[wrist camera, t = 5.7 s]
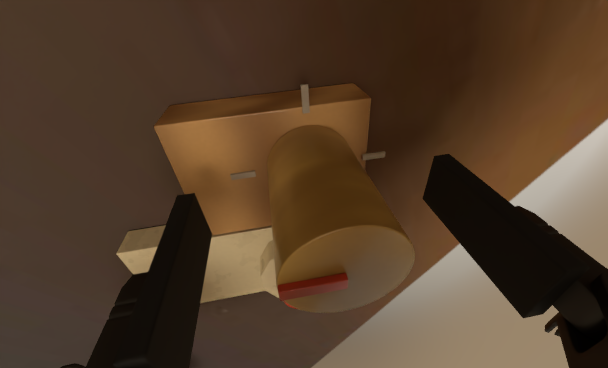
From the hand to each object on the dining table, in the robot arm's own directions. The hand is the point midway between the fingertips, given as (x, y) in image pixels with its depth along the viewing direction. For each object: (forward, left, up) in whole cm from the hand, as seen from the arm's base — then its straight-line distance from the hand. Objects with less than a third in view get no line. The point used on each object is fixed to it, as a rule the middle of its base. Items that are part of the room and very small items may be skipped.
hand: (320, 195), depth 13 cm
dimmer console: (+2, +1, -6) cm, 6 cm away
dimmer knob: (0, 0, -3) cm, 3 cm away
